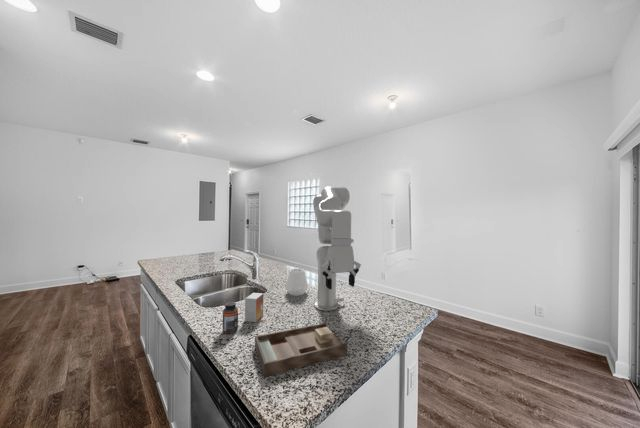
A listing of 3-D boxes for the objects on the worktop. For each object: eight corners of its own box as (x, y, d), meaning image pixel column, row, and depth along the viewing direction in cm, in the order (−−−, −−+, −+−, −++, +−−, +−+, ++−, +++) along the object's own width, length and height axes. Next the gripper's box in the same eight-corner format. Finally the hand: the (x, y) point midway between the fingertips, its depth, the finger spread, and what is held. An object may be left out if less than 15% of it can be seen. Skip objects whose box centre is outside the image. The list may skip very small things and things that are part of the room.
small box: (255, 322, 109) (256, 299, 109) (244, 321, 110) (244, 298, 110) (263, 315, 117) (263, 293, 117) (252, 314, 118) (253, 292, 118)
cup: (282, 290, 152) (283, 268, 151) (303, 288, 157) (303, 266, 157) (289, 298, 139) (289, 273, 139) (311, 295, 145) (311, 271, 144)
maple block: (326, 334, 95) (326, 326, 95) (332, 340, 90) (332, 332, 90) (314, 337, 93) (314, 329, 93) (320, 343, 88) (320, 335, 88)
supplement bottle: (225, 327, 104) (225, 300, 104) (239, 326, 105) (239, 300, 105) (220, 334, 99) (220, 306, 98) (235, 333, 99) (236, 306, 99)
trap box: (325, 332, 102) (325, 322, 101) (347, 355, 86) (347, 344, 86) (254, 347, 90) (254, 336, 90) (264, 377, 74) (264, 363, 74)
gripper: (355, 240, 101) (354, 282, 101) (316, 242, 95) (315, 286, 95) (365, 242, 94) (365, 287, 94) (324, 244, 88) (323, 292, 88)
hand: (340, 287), depth 94 cm, fingers open, 9 cm apart
